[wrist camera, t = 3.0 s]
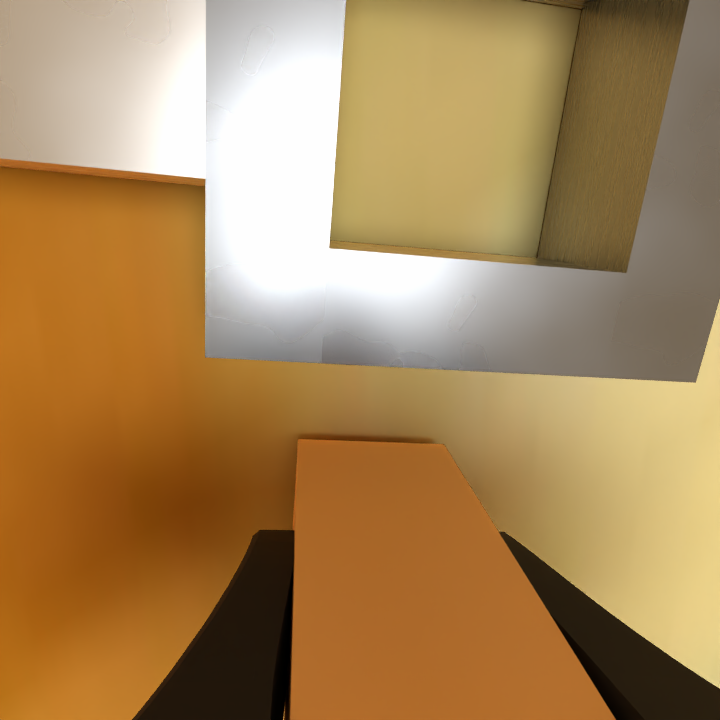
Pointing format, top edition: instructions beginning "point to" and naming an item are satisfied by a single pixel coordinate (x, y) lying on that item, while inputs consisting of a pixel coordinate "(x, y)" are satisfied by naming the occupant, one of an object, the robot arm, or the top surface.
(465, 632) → the square peg
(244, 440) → the top surface
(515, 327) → the bracket
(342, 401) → the top surface
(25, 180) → the top surface
